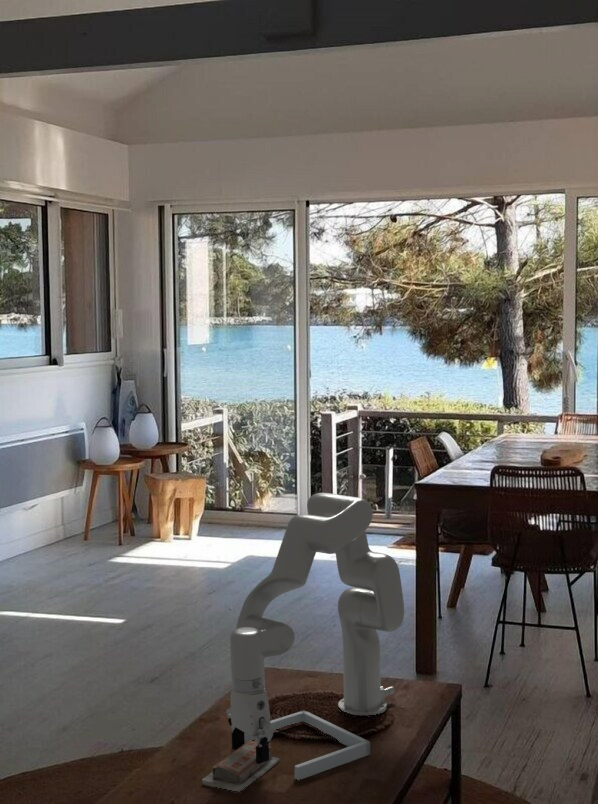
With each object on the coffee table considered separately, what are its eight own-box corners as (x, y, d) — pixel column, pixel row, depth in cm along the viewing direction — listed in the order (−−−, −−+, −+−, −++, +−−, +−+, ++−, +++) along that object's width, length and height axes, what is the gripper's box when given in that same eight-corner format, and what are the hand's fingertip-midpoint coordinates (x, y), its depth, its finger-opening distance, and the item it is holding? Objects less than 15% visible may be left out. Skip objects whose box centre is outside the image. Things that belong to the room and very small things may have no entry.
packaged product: (242, 735, 264) (279, 743, 260) (243, 755, 265) (280, 763, 260) (200, 765, 249) (239, 774, 244) (201, 786, 249) (239, 795, 244)
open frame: (304, 721, 283) (304, 710, 282) (370, 754, 263) (370, 741, 262) (234, 744, 270) (234, 732, 270) (298, 780, 250) (297, 767, 250)
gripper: (284, 689, 251) (286, 762, 253) (240, 668, 265) (242, 738, 266) (256, 697, 246) (258, 772, 248) (213, 676, 260) (216, 747, 262)
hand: (250, 754), depth 257 cm, fingers open, 9 cm apart
